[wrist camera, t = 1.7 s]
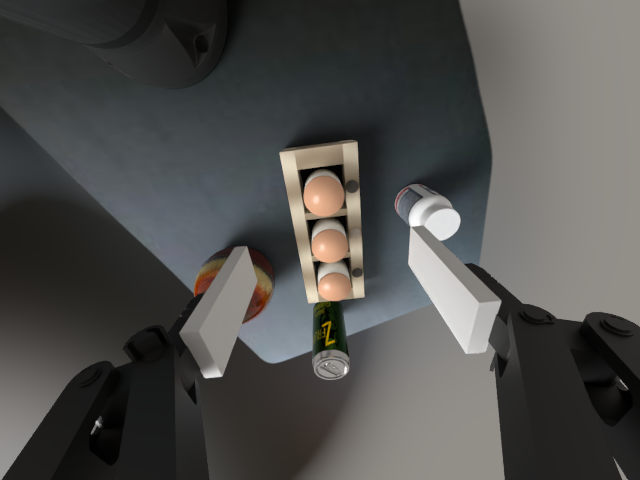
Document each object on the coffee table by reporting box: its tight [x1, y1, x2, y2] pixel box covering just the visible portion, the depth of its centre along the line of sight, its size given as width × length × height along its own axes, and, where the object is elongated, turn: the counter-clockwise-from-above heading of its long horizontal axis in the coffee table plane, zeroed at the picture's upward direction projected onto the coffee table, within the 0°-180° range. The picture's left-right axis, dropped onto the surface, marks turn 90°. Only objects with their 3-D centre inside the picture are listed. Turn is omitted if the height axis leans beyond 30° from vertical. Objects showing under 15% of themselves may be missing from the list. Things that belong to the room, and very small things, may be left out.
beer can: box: [312, 301, 350, 380], centre depth 37 cm, size 5×5×12 cm
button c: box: [318, 259, 351, 301], centre depth 34 cm, size 5×5×4 cm
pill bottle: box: [395, 184, 460, 241], centre depth 30 cm, size 5×5×9 cm
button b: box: [312, 217, 348, 263], centre depth 31 cm, size 5×5×4 cm
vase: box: [194, 246, 275, 324], centre depth 32 cm, size 11×11×15 cm
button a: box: [304, 169, 344, 216], centre depth 28 cm, size 5×5×4 cm
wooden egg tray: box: [279, 140, 364, 303], centre depth 33 cm, size 23×9×4 cm, turn 7°
